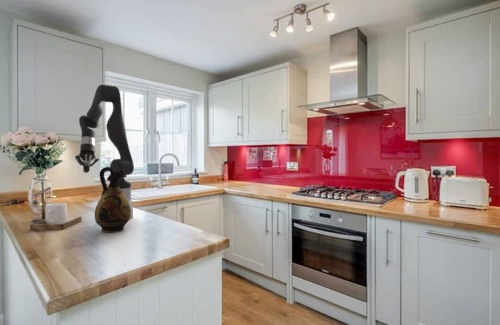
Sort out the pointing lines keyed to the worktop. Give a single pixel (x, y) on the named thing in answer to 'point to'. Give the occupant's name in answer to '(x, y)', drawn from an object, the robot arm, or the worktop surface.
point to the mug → (56, 213)
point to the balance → (36, 203)
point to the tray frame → (54, 225)
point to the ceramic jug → (112, 203)
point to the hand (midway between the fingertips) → (86, 172)
